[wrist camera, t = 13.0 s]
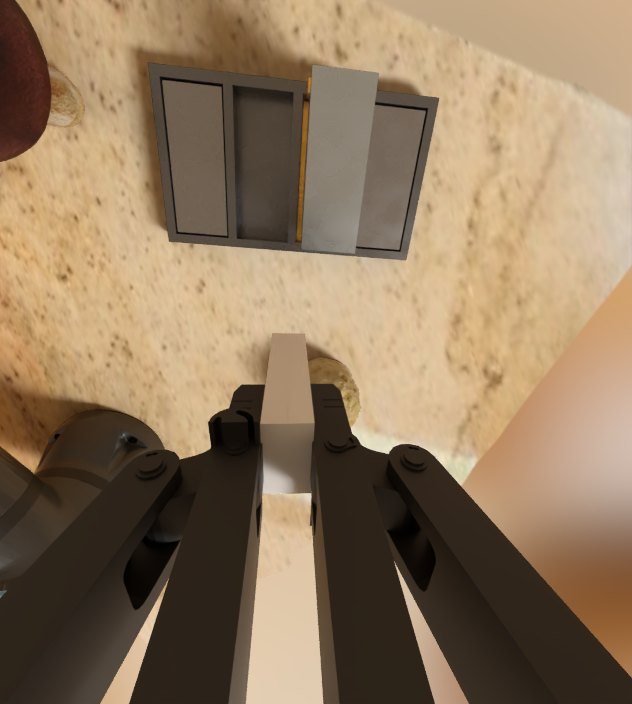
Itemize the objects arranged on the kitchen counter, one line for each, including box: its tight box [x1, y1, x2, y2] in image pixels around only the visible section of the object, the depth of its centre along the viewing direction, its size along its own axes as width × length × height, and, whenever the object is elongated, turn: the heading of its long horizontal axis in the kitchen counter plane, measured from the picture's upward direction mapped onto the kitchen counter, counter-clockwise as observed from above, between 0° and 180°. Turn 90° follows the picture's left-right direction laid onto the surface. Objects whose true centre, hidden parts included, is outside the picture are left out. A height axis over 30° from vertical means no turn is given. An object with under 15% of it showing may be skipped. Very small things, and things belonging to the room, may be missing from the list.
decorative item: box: [308, 357, 361, 427], centre depth 41 cm, size 10×10×10 cm
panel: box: [301, 65, 379, 254], centre depth 26 cm, size 4×10×12 cm, turn 175°
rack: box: [148, 63, 439, 260], centre depth 30 cm, size 25×14×3 cm, turn 85°
